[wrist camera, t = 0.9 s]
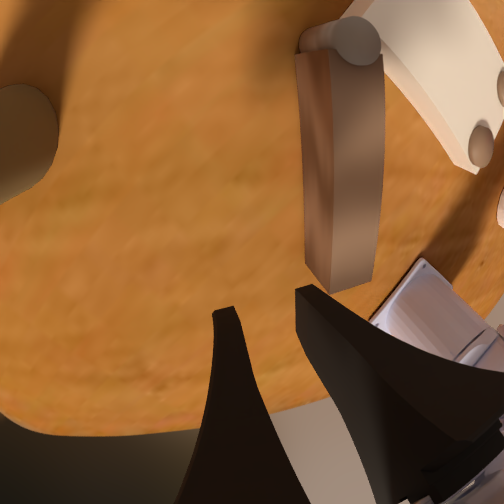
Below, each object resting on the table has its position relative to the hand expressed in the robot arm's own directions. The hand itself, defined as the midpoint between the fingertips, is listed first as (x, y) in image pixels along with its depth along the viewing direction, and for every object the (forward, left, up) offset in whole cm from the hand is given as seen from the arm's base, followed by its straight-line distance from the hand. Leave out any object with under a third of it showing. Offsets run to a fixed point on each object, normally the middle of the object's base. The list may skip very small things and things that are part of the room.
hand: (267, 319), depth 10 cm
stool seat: (-7, -18, -8) cm, 21 cm away
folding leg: (-3, -6, -8) cm, 11 cm away
